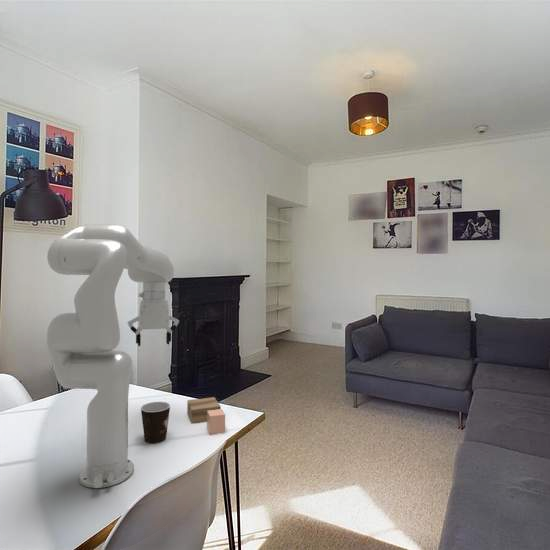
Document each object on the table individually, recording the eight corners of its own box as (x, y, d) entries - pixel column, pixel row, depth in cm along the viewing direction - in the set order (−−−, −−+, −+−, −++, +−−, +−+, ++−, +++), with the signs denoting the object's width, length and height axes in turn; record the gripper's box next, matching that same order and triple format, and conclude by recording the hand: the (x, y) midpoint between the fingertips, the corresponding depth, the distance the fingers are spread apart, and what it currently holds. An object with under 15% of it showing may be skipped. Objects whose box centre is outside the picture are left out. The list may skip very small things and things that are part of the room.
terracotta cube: (224, 432, 119) (225, 414, 119) (209, 435, 117) (209, 416, 117) (221, 426, 124) (222, 408, 123) (206, 428, 122) (207, 410, 122)
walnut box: (220, 420, 129) (220, 406, 129) (191, 424, 125) (191, 410, 125) (214, 410, 138) (214, 397, 138) (187, 413, 135) (187, 400, 135)
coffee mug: (156, 430, 120) (157, 399, 120) (175, 436, 115) (176, 405, 115) (126, 444, 110) (126, 411, 110) (145, 452, 105) (145, 417, 105)
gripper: (127, 297, 123) (127, 348, 123) (180, 296, 130) (180, 345, 130) (127, 295, 130) (127, 344, 130) (177, 295, 136) (177, 341, 137)
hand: (153, 344), depth 130 cm, fingers open, 9 cm apart
